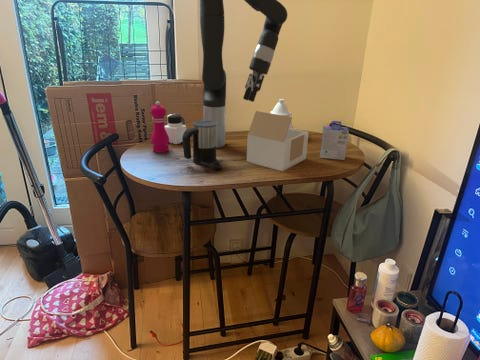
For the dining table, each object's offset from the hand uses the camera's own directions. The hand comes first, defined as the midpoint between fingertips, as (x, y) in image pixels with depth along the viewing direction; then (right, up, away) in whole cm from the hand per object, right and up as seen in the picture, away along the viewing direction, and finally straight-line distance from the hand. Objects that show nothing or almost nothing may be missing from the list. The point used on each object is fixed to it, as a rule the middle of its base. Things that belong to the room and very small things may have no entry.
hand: (248, 100), depth 139 cm
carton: (+11, -24, -1) cm, 26 cm away
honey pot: (+15, -11, +30) cm, 35 cm away
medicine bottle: (-32, -14, +18) cm, 40 cm away
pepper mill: (-36, -19, +7) cm, 41 cm away
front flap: (+7, -12, -12) cm, 19 cm away
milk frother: (-15, -26, -7) cm, 31 cm away
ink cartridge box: (+34, -22, +4) cm, 41 cm away
